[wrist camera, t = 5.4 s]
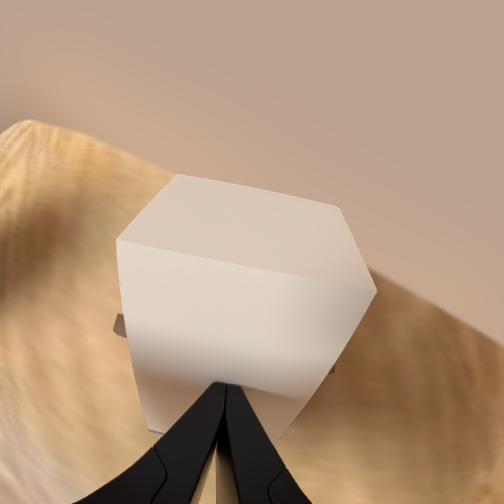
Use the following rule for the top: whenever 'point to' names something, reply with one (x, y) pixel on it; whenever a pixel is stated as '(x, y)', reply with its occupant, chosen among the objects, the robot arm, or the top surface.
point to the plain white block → (237, 297)
